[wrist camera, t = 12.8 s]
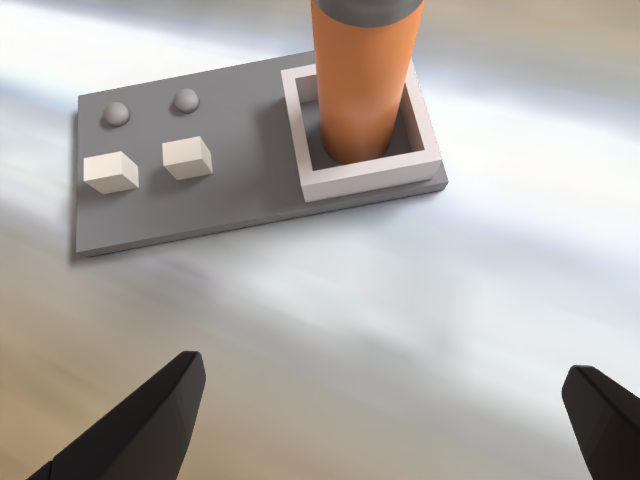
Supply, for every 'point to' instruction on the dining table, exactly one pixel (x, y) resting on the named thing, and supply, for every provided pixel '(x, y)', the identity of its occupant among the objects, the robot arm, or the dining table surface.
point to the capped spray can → (361, 72)
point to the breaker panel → (231, 155)
